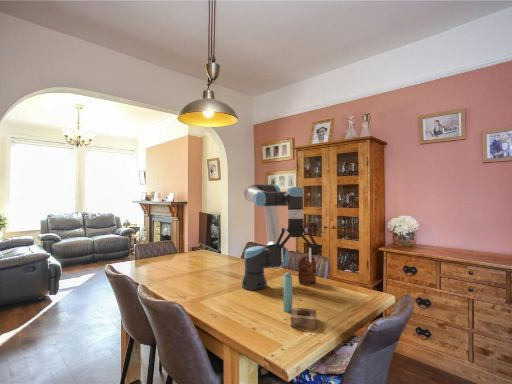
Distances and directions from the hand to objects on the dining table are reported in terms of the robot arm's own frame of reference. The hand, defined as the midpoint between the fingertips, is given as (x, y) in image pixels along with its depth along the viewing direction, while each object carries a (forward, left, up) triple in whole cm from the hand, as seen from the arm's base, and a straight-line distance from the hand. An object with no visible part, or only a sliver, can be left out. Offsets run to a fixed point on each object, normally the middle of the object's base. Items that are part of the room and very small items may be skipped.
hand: (296, 261), depth 133 cm
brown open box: (+4, -17, -22) cm, 28 cm away
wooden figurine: (+3, +38, -22) cm, 44 cm away
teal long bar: (-4, -6, -22) cm, 23 cm away
